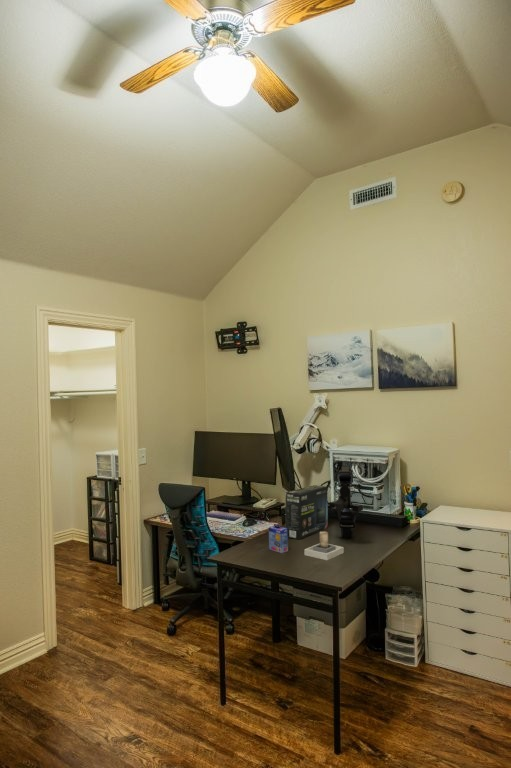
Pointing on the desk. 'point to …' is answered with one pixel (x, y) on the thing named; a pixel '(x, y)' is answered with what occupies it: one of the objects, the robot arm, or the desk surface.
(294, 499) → the router box
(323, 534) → the beige domed cylinder
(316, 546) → the housing
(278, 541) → the ink cartridge box
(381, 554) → the desk surface
